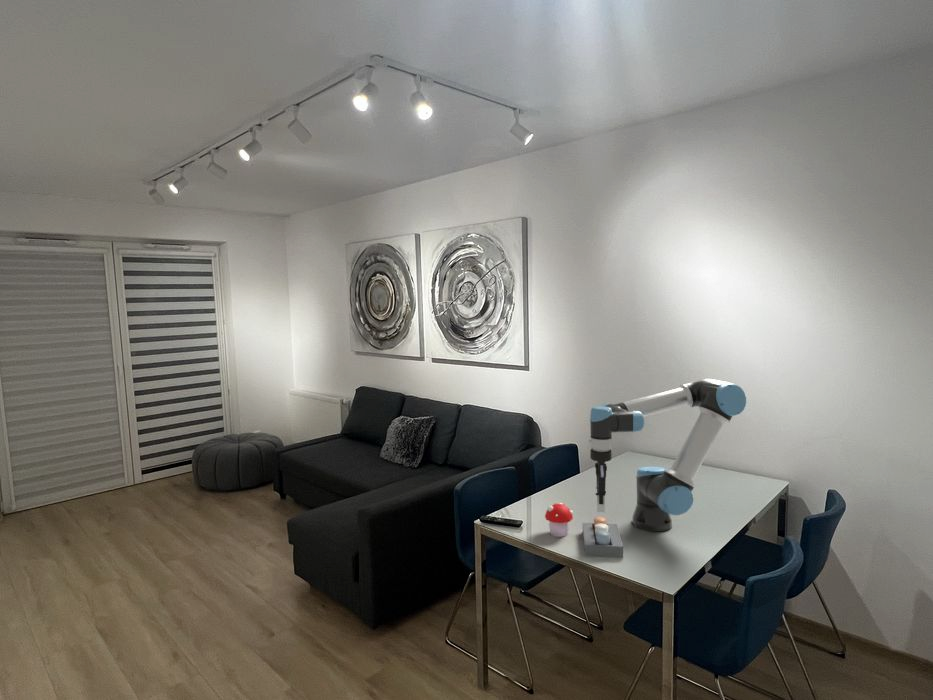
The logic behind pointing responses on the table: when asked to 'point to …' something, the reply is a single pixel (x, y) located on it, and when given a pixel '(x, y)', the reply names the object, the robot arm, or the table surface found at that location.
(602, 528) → the button ivory
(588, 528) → the grey button tray
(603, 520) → the button terracotta
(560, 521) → the mushroom
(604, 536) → the button slate
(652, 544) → the table surface
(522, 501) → the table surface
